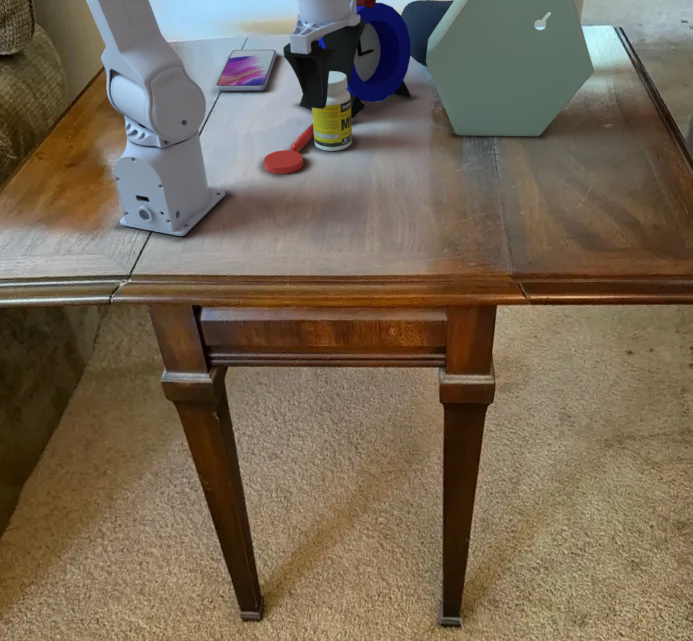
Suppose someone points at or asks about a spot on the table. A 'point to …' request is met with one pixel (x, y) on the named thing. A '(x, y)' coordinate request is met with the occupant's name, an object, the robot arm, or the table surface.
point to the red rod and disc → (288, 155)
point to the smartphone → (246, 70)
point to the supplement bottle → (334, 116)
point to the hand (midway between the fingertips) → (329, 94)
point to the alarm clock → (377, 56)
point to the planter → (507, 64)
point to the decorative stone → (423, 24)
